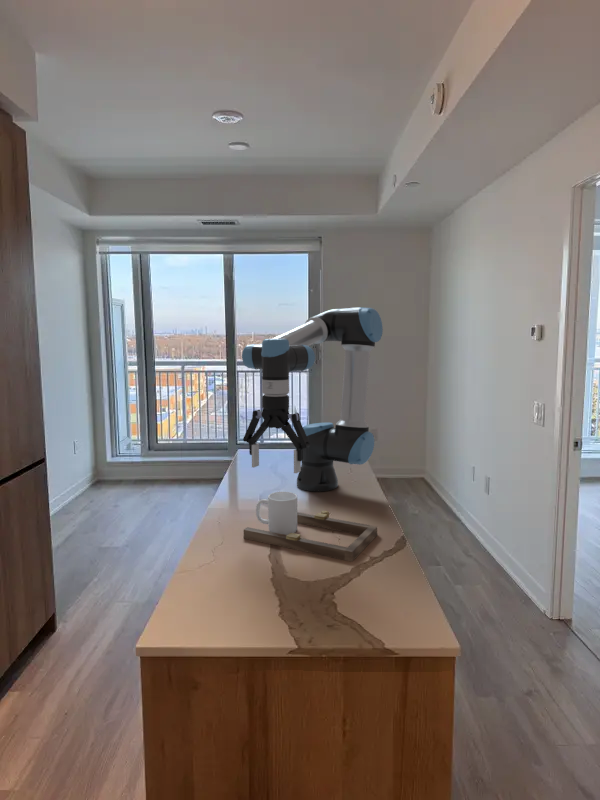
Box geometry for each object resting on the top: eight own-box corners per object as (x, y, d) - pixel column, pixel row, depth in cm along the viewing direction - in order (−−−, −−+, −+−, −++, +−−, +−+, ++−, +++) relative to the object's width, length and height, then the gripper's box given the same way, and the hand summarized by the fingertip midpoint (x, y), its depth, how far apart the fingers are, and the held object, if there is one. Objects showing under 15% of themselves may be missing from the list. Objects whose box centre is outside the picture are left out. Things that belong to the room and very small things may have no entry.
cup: (295, 536, 145) (295, 501, 144) (252, 534, 147) (252, 499, 146) (299, 525, 154) (299, 492, 152) (259, 523, 155) (258, 490, 154)
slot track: (282, 513, 164) (282, 503, 163) (380, 531, 149) (381, 519, 149) (243, 538, 144) (243, 527, 144) (351, 561, 129) (351, 549, 129)
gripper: (230, 393, 147) (231, 467, 150) (310, 398, 136) (309, 478, 139) (245, 390, 154) (246, 461, 157) (322, 395, 143) (321, 471, 145)
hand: (275, 469), depth 148 cm, fingers open, 13 cm apart
